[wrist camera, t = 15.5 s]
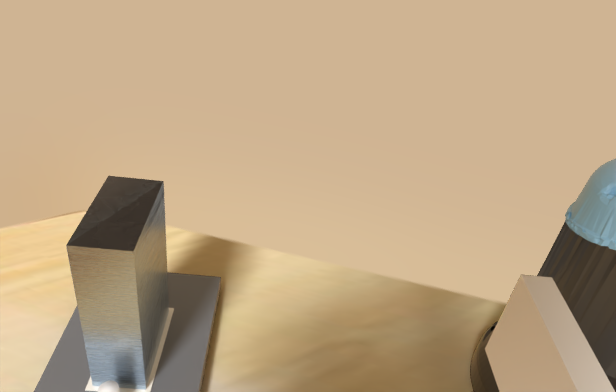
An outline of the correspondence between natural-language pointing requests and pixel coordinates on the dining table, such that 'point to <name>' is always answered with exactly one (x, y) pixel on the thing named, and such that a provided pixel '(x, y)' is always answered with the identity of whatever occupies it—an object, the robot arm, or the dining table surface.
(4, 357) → the dining table surface
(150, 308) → the block
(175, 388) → the slotted base plate
